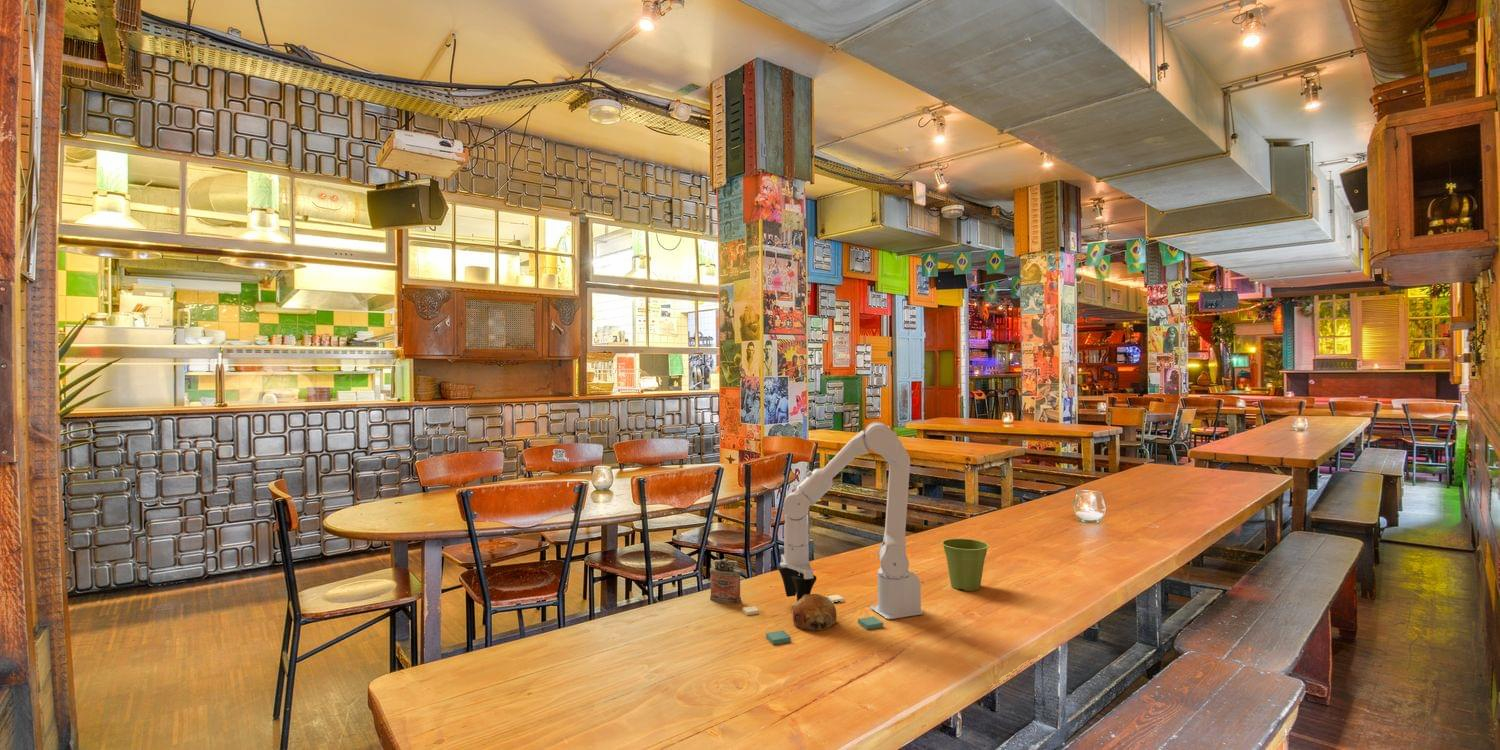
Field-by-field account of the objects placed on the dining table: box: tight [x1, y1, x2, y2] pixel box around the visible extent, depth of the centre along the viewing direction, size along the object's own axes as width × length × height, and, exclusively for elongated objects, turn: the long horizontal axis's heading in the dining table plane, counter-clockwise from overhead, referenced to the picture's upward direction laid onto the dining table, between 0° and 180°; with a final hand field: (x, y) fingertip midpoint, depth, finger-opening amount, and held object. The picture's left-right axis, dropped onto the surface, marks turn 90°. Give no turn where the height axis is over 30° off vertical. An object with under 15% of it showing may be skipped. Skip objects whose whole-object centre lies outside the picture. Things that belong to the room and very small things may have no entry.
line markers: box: [742, 594, 884, 646], centre depth 152 cm, size 26×20×1 cm
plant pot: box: [941, 537, 990, 592], centre depth 174 cm, size 12×12×11 cm
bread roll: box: [792, 593, 837, 631], centre depth 150 cm, size 10×10×8 cm
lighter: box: [709, 558, 742, 604], centre depth 165 cm, size 8×3×10 cm, turn 68°
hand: (796, 600), depth 159 cm, fingers open, 6 cm apart
